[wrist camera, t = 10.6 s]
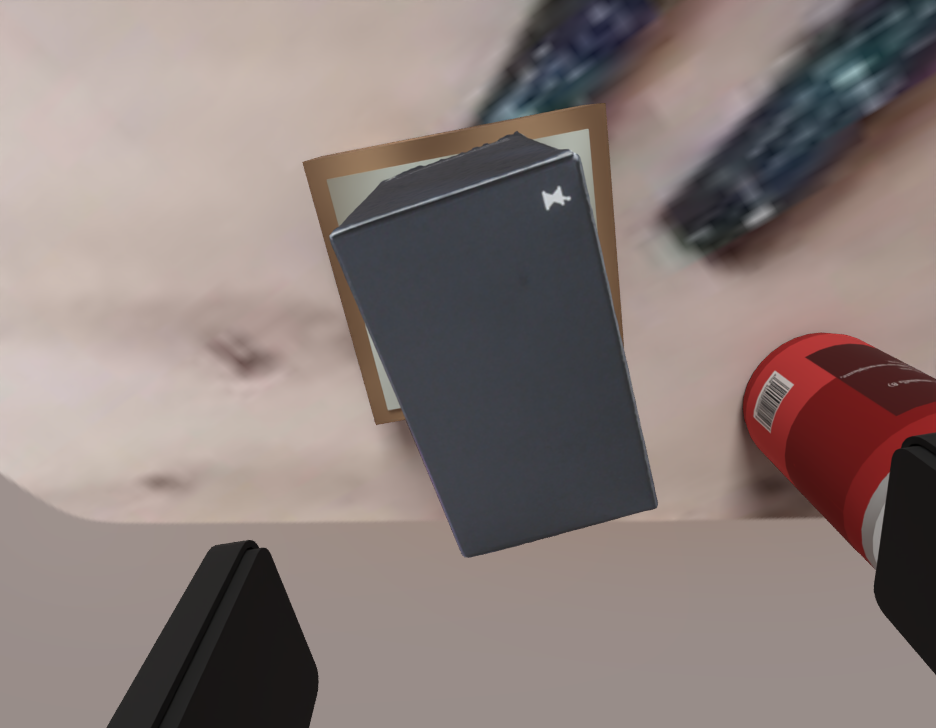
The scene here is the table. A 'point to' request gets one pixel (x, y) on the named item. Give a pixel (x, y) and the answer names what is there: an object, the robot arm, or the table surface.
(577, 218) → the small box
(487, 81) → the table surface
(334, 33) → the table surface
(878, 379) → the canned food
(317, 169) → the wooden box
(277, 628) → the robot arm
